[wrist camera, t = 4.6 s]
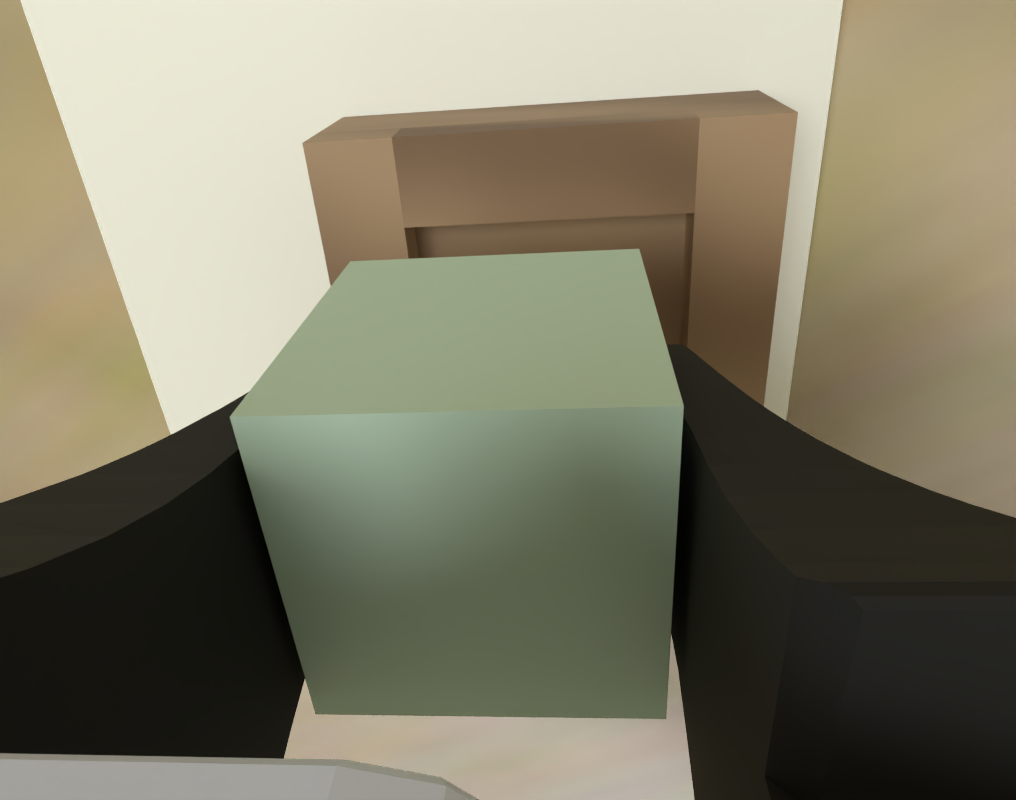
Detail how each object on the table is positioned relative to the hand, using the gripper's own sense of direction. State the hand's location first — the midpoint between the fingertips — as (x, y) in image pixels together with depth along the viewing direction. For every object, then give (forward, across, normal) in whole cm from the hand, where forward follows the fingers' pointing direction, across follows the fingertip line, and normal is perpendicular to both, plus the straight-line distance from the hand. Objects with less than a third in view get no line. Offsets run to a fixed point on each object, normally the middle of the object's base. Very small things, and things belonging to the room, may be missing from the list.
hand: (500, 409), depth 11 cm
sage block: (+1, 0, 0) cm, 1 cm away
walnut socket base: (+8, -1, +1) cm, 8 cm away
